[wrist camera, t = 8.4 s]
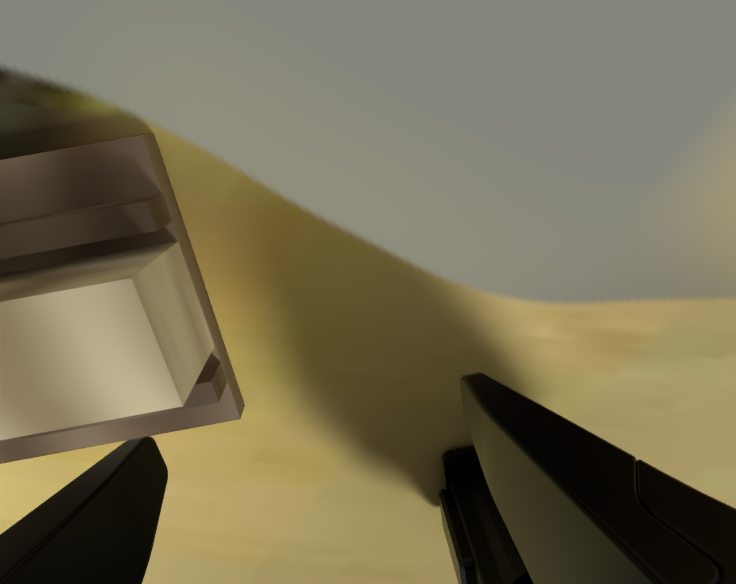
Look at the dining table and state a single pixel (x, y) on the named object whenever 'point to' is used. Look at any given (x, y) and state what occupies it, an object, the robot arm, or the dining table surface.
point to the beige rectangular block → (98, 340)
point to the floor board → (101, 237)
